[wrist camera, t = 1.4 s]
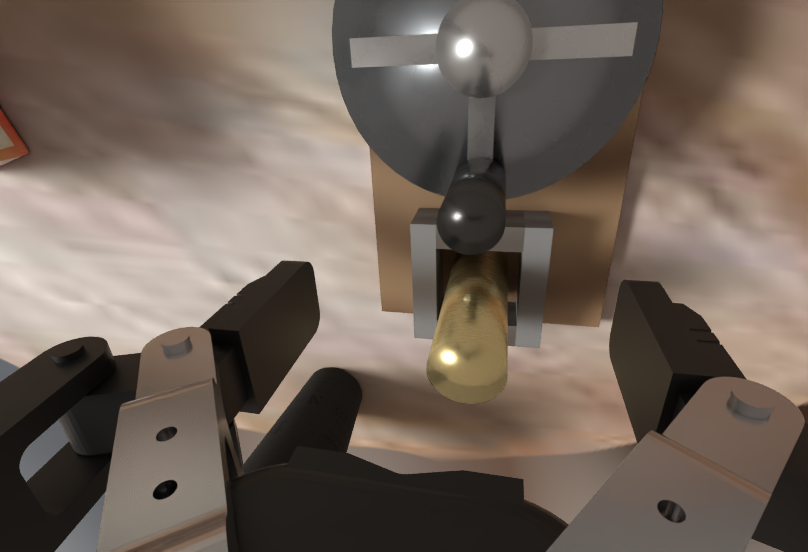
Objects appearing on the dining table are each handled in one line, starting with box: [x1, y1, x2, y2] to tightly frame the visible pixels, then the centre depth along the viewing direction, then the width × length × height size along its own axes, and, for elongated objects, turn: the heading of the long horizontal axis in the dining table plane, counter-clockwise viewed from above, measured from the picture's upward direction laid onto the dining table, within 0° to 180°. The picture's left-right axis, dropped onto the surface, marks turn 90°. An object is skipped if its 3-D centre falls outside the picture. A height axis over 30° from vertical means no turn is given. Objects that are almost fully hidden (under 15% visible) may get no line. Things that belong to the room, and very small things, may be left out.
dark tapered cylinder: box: [243, 368, 362, 474], centre depth 30 cm, size 8×8×20 cm
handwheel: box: [332, 0, 663, 255], centre depth 17 cm, size 14×14×8 cm
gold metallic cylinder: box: [427, 251, 508, 404], centre depth 25 cm, size 4×4×11 cm
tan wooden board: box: [370, 87, 644, 348], centre depth 25 cm, size 23×15×4 cm, turn 2°
